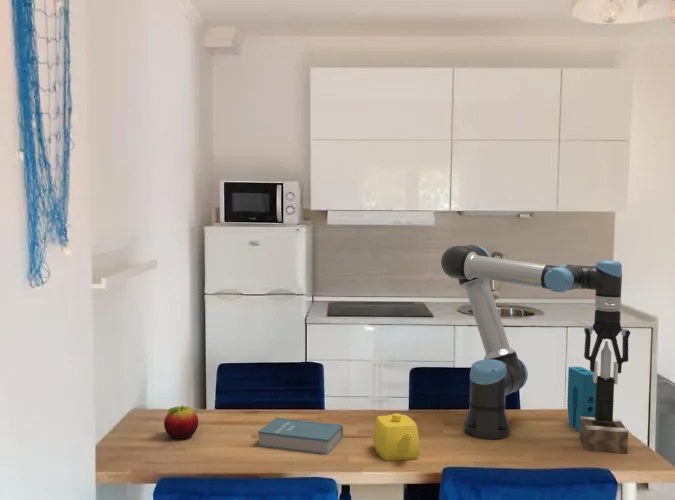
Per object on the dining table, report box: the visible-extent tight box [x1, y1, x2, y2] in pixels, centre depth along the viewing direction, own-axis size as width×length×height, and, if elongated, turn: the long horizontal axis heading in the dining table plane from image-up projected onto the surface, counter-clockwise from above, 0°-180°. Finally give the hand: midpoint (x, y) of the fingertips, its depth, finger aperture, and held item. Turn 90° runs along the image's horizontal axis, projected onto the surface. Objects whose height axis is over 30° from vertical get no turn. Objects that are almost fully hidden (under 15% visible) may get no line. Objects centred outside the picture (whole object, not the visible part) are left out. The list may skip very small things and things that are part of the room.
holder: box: [579, 416, 629, 454], centre depth 207 cm, size 12×12×7 cm
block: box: [566, 366, 599, 433], centre depth 224 cm, size 12×5×20 cm, turn 8°
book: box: [257, 417, 344, 456], centre depth 205 cm, size 23×16×5 cm
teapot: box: [373, 413, 420, 462], centre depth 196 cm, size 20×12×12 cm, turn 12°
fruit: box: [163, 405, 199, 440], centre depth 208 cm, size 11×11×10 cm
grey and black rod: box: [595, 340, 615, 422], centre depth 206 cm, size 5×5×25 cm
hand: (605, 382), depth 206 cm, fingers closed on grey and black rod, 5 cm apart
